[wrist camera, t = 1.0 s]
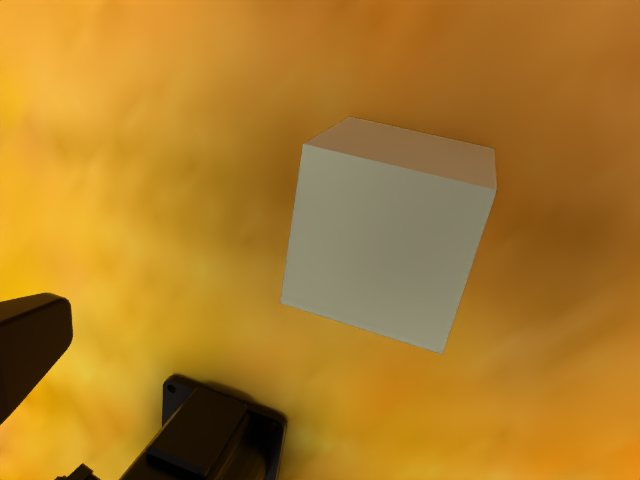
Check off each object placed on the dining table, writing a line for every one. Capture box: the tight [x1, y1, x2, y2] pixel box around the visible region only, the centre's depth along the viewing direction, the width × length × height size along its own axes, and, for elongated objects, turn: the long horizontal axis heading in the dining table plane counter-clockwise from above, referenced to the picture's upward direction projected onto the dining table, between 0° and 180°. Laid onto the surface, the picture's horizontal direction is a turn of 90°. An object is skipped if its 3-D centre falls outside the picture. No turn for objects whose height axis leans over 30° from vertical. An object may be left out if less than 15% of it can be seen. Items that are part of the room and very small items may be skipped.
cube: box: [280, 116, 497, 354], centre depth 16 cm, size 5×5×5 cm
